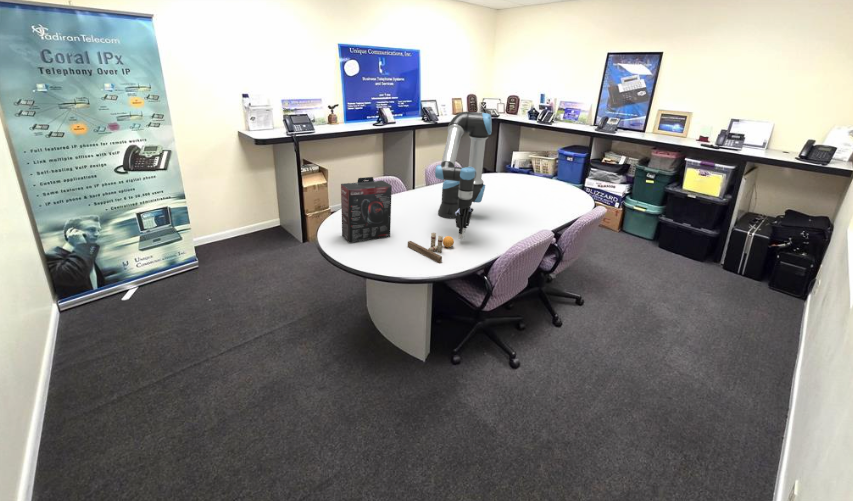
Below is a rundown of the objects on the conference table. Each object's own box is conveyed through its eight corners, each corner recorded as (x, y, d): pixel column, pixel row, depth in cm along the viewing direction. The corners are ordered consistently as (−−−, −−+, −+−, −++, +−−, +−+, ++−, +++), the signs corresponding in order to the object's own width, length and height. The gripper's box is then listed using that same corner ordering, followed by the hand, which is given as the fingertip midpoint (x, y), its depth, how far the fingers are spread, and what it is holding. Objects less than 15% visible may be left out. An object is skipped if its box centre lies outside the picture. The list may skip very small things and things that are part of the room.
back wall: (410, 245, 220) (410, 240, 219) (441, 261, 204) (442, 256, 203) (407, 246, 219) (407, 241, 217) (438, 263, 203) (439, 257, 201)
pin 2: (439, 250, 216) (440, 235, 213) (442, 252, 215) (443, 236, 211) (435, 251, 215) (437, 236, 211) (439, 253, 213) (440, 238, 210)
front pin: (439, 243, 219) (428, 247, 213) (443, 245, 217) (431, 248, 212) (439, 247, 220) (427, 251, 214) (442, 249, 218) (431, 253, 213)
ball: (438, 243, 220) (445, 246, 224) (446, 247, 216) (452, 250, 221) (443, 233, 220) (449, 236, 224) (451, 237, 216) (457, 240, 220)
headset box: (382, 229, 239) (382, 173, 226) (391, 237, 230) (392, 178, 216) (341, 235, 227) (339, 176, 214) (349, 244, 218) (347, 182, 204)
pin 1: (432, 247, 220) (433, 232, 216) (436, 248, 218) (437, 233, 215) (429, 248, 218) (430, 233, 215) (432, 249, 217) (433, 234, 213)
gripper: (461, 201, 211) (458, 243, 221) (478, 197, 220) (474, 238, 229) (451, 197, 216) (448, 239, 226) (468, 194, 225) (464, 234, 234)
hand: (461, 238), depth 228 cm, fingers closed
